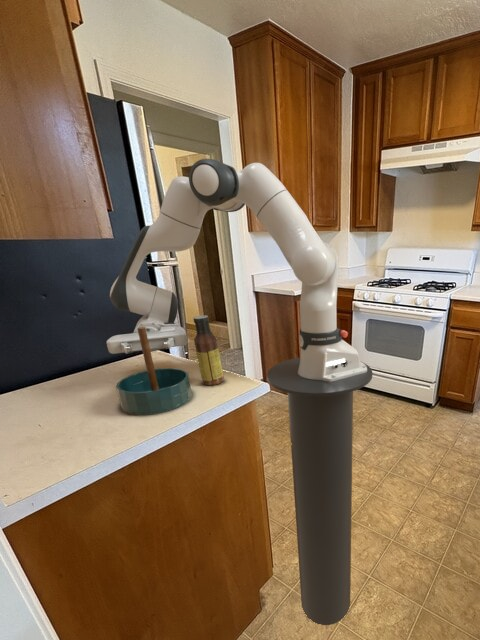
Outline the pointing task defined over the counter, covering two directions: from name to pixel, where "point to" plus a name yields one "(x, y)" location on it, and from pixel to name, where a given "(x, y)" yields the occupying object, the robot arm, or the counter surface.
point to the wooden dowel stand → (148, 358)
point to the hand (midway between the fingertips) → (147, 348)
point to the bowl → (154, 392)
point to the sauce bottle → (207, 352)
